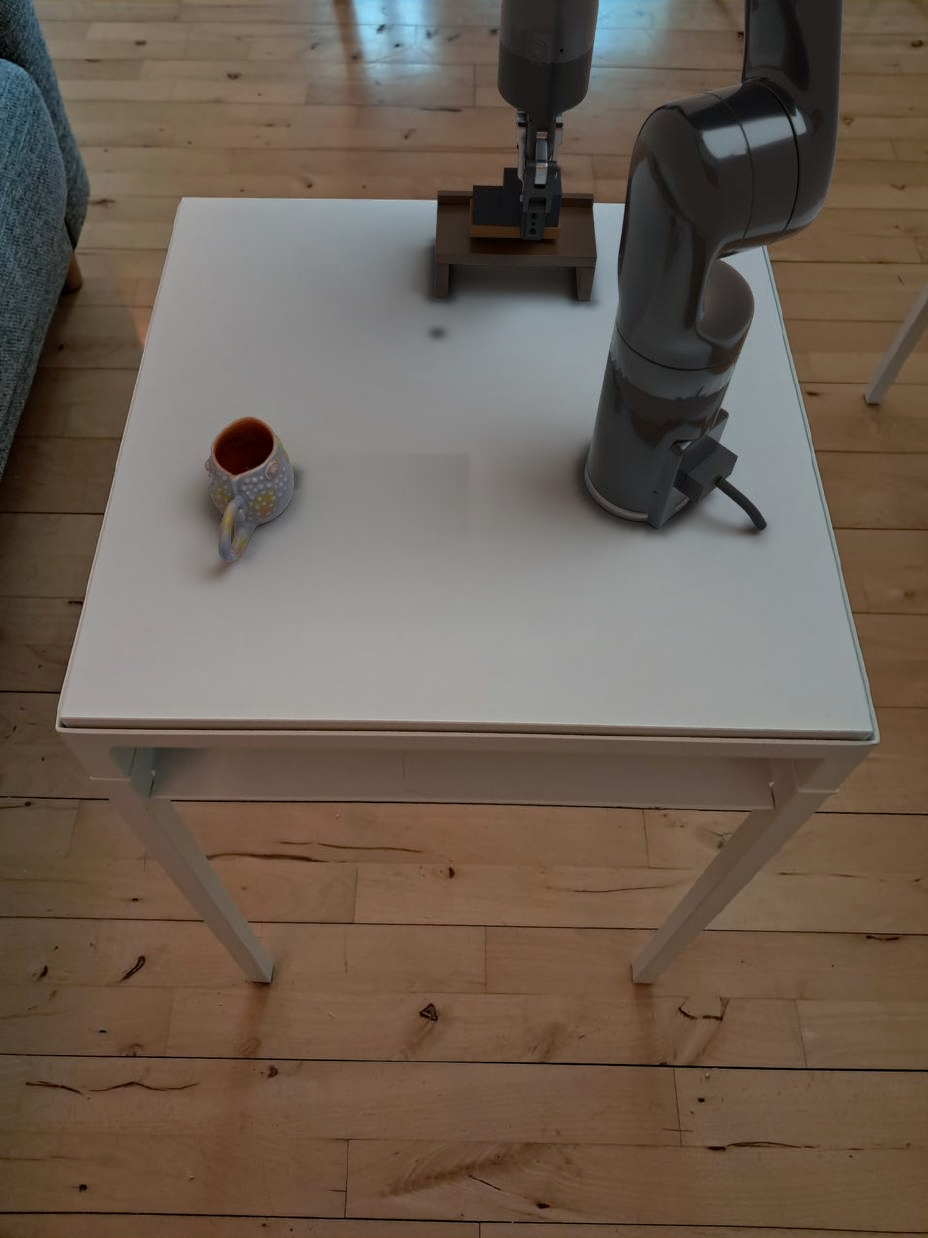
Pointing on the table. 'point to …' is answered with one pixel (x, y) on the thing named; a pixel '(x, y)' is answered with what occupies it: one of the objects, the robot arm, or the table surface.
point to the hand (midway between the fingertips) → (530, 220)
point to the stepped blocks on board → (508, 209)
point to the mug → (247, 481)
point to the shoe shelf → (516, 241)
